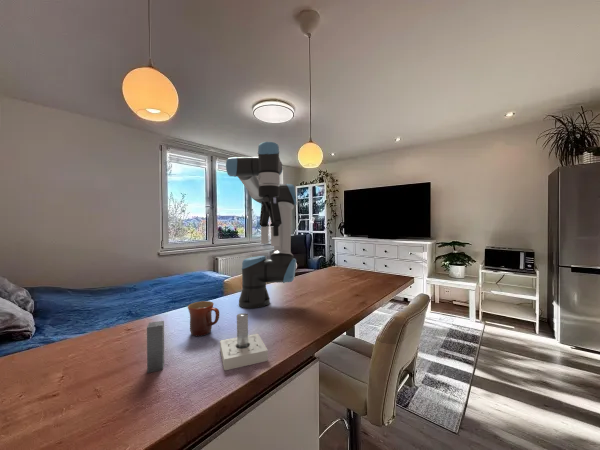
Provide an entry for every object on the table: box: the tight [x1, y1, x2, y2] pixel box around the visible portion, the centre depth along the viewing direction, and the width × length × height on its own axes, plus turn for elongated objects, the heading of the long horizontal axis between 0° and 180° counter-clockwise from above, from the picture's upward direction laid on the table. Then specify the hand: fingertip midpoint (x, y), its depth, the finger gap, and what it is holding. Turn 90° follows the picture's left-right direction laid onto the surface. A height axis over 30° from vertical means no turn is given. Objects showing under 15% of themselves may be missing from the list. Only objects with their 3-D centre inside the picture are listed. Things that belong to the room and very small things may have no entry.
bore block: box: [219, 333, 269, 371], centre depth 74 cm, size 12×12×3 cm
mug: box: [187, 300, 220, 337], centre depth 89 cm, size 12×9×10 cm
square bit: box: [146, 320, 165, 374], centre depth 68 cm, size 4×4×12 cm
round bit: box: [236, 312, 249, 349], centre depth 74 cm, size 3×3×12 cm
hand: (269, 244), depth 90 cm, fingers open, 13 cm apart
